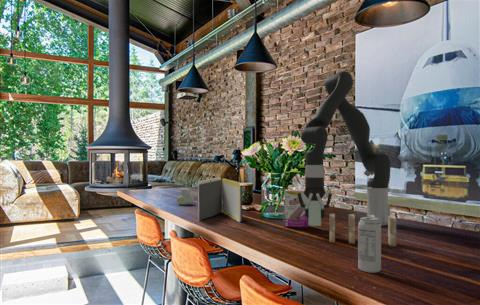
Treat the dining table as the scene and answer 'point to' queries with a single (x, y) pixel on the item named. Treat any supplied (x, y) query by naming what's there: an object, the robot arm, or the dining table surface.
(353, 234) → the domino
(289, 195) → the candy bar box
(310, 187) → the robot arm
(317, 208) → the domino
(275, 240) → the dining table surface
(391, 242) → the domino
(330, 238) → the domino
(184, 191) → the air freshener
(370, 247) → the energy drink can
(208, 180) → the grey folded panel
